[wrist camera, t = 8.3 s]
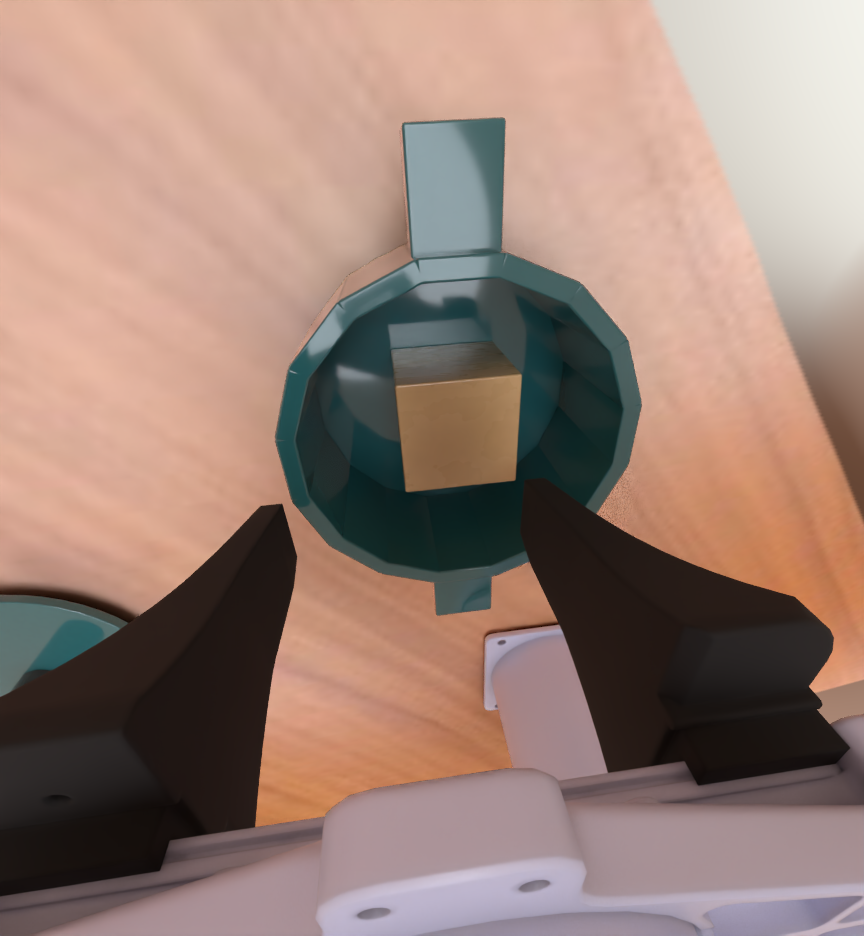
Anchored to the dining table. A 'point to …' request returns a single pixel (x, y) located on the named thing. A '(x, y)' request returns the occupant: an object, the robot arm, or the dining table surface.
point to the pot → (443, 323)
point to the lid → (46, 635)
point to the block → (456, 415)
